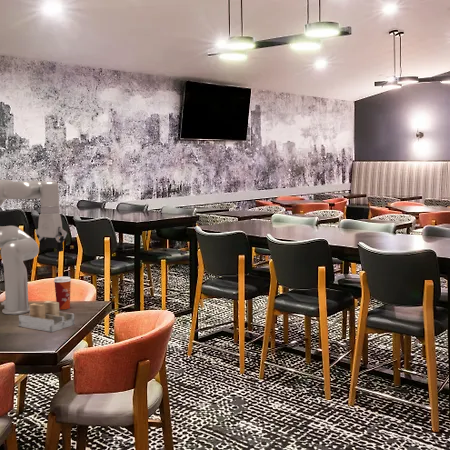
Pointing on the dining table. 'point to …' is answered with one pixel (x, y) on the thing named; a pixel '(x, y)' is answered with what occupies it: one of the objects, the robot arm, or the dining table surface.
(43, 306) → the oak board
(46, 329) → the rack
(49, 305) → the beech board
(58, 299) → the paper cup
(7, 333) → the dining table surface
